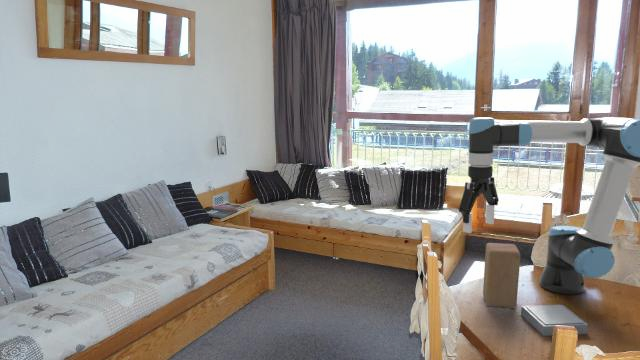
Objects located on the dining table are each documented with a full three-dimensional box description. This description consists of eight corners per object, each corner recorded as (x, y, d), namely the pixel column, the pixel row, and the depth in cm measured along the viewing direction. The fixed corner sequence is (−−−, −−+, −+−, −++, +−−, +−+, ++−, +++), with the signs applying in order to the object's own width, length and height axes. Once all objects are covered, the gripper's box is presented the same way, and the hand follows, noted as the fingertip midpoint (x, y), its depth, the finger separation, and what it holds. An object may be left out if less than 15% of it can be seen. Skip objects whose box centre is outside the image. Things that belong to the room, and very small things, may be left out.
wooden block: (516, 309, 166) (521, 252, 162) (485, 306, 168) (489, 250, 164) (511, 297, 176) (515, 243, 172) (482, 294, 178) (485, 241, 174)
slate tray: (561, 313, 163) (562, 303, 163) (587, 333, 150) (588, 324, 149) (520, 314, 162) (521, 305, 162) (543, 335, 149) (543, 325, 148)
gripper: (490, 159, 171) (488, 218, 176) (448, 169, 156) (447, 233, 160) (510, 161, 166) (508, 222, 170) (469, 171, 150) (467, 238, 154)
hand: (478, 227), depth 165 cm, fingers open, 13 cm apart
